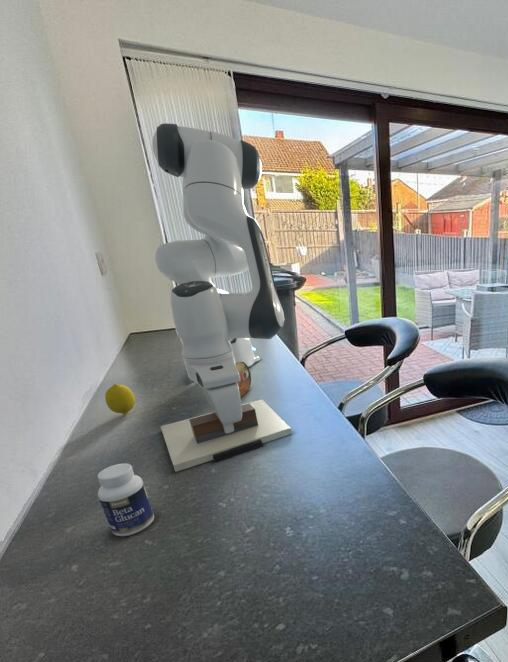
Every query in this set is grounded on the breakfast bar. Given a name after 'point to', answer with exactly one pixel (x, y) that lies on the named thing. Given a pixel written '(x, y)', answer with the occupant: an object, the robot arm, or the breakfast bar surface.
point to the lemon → (119, 399)
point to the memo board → (192, 454)
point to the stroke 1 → (221, 455)
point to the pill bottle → (124, 500)
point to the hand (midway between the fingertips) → (226, 426)
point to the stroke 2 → (238, 450)
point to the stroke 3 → (254, 445)
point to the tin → (243, 377)
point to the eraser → (213, 428)
